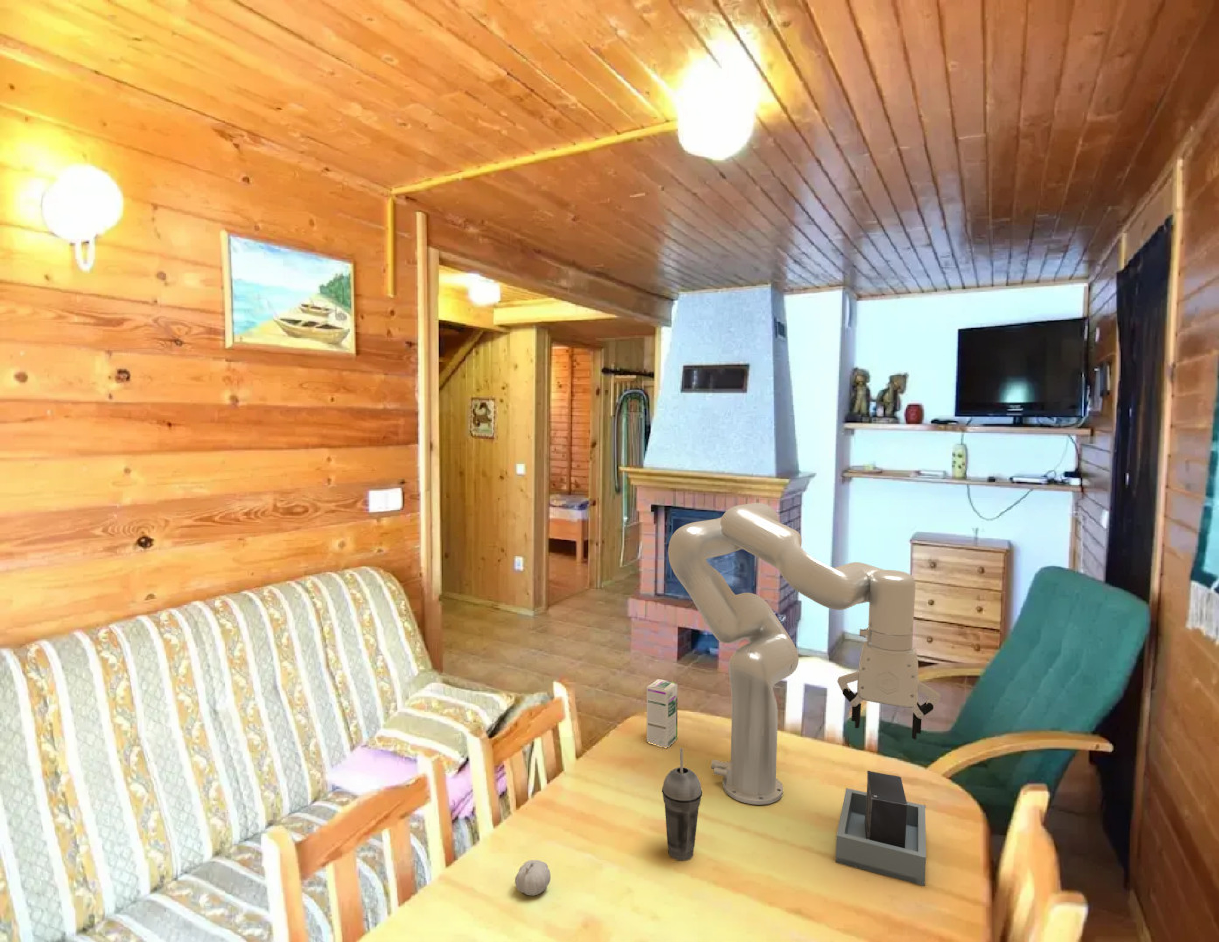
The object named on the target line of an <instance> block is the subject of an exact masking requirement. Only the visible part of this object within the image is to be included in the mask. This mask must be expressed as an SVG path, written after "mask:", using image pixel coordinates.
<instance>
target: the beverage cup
mask: <svg viewBox="0 0 1219 942" xmlns="http://www.w3.org/2000/svg"><path fill="white" fill-rule="evenodd" d="M679 765H680V766H679V767H675V768H673V769H672V770H670V771H669V773H667V775H666V776H665V778H664V780H663V784H662V788H661V792H662V797H663V799H662V800H663V803H664V812H665V828H666V829H665V830H666V842H667V849H668V855H669V856H670V858H671V859H674V860H675V861H676V860H677V861H682V862H683V861H687V860H691V859H692V858H693V856H694V849H695V846H696V844H695V843H696V842H695V841H696V834H697V825H698V817H699V807H700V805H701V802H702V796H703V790H702V784H701V781H700V779H699V777H698V775H697V774H696V773H695V772H694V771H693V770H692V769H690V768H688V767H684V748H681V747H680V748H679Z"/></svg>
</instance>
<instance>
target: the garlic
mask: <svg viewBox="0 0 1219 942" xmlns="http://www.w3.org/2000/svg"><path fill="white" fill-rule="evenodd" d="M550 882H551V871H550V869H549V867H548V864H547V863H546V862H545V861H542V860H539V859H529V860H527V861H525V862H524V863H523V865H521V866H520V867H519V869H518V872H517V873H516V875H515V879H514V883H515V884H514V885H515V887H516V889H517V890H518V891H519V892H520V893H522V894H525V895H527V896H537V895H540V894H541V893H542V892H544V891H546V890H547V888H548V886H549V885H550Z"/></svg>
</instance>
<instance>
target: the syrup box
mask: <svg viewBox="0 0 1219 942" xmlns="http://www.w3.org/2000/svg"><path fill="white" fill-rule="evenodd" d="M675 740H676V741H677V740H678V683H677V682H675V681H671V680H667V679H666V680H665V679H661V678H657V679H656V680H655V681H654V682H653V681H652V683H650V684H648V685H647V686H646V743H647V742H650V743H653V744H656V745H659V746H662V747H668V748H670V745H671V744H672V745H673V744H674V743H675V742H676V741H675ZM674 741H675V742H674ZM673 742H674V743H673ZM672 745H671V746H672ZM662 747H661V748H662Z"/></svg>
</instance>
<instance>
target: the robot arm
mask: <svg viewBox="0 0 1219 942" xmlns="http://www.w3.org/2000/svg"><path fill="white" fill-rule="evenodd" d="M740 550H744V551H746V552H747V553H749V554H752V555H753V556H754V557H756V558H759V560H762V561H764V562H765V563H767V564H768V565H771V566H773V567H774V568H775V569H777V571H778V572H779V574H780V576H781V577H782V578H783V579H784V580H785V581H786V582H787V584H788V585H789V586H790V587H791V588H793V590H795V591H796V592H798V593H799V594H801V595H803V596H804V597H806V598H808V599H809V600H811V601H813V602H815V603H817V604H818V605H820V606H822V607H824V608H827V609H831V610H834V611H835V610H836V611H843V610H847V609H849V608H852V607H854V606H856V605H860V604H865V603H869V604H868V605H869V606H868V624H867V625H868V627H866V628H864V629H862V628H859V633H858V634H859V637H862V638H864V639H865V640H867V641H864V643H863V644H862V646H861V651H860V657H859V663H858V671H853V672H851V673H847V674H845V675H840V676H839V677H838V679H837V680H836V681H837V684H838V686H839V688H840V690H841V692H842V695H843V696H844V698H845V699H846V700H847V701H848V702H849V703H850V706H851V721H852V722H854V728H855V729H859V728H860V725H861V716H862V713H861V712H862V703H861V702H863V701H866V702H872V703H876V704H881V705H888V706H894V707H900V708H906V709H910V710H911V711H912V723H911V724H912V727H911V738H912V739H913V740H917V734H922V721H923V720H922V719H923V718H924V716H926V715H928V714H929V713H931V712H932V711H933V710H934V708H935V706H937V704H938V702H939V701H940V700H941V694H940V693H939V692H938V691H936V690H935V689H933V688H931V687H930V686H928V685H926V684H925V683H923V682H922V681H920V680H919V662H918V661H919V658H918V653H917V650H916V649H915V647H913V639H914V638H913V637H914V623H915V622H914V619H915V602H916V601H915V600H916V580H915V577H914V576H913V575H912V574H910V573H908V572H904V571H900V570H894V569H893V570H891V569H884V568H883V569H882V568H879V567H876V566H872V565H870V564H867V563H863V562H856V561H855V562H849V563H846V564H842V565H839V566H835V567H832V566H830V565H828V564H826V563H824V562H822V561H820V560H818V559H816V558H814V557H813V556H811V555H810V554H808V553H807V552H806V551H805V550H804V549H803V548H802V536H801V534H800V532H799V531H798V530H796V529H794V528H792V527H789V526H788V525H785V524H783V523H781V522H780V519H779V516H778V514H777V512H776V511H775V509H774V508H773V507H771V506H770V505H769V504H766V503H764V502H763V503H762V502H752V503H745V504H738V505H734V506H732V507H730V508H728V509H727V510H726V511H725V512H724V514H723V515H722V516H721V517H719V518H713V519H706V520H700V521H694V522H690V523H686V524H684V525H682V526H680V527H679V528H677V529H676V530H675V531H674V532H673V534H672V535H671V537H670V539H669V543H668V551H667V552H668V561H669V564H670V568H671V570H672V572H673V574H674V575H675V577H676V578H677V580H678V581H679V582H680V584H681V585H682V587H683V589H685V591H686V592H687V594H688V596H689V597H690V598H691V600H692V602H693V603H694V605H695V607H696V609H697V610H698V612H699V614H700V615H701V617H702V619H703V620H704V622H705V623H706V625H707V626H708V628H709V630H710V632H711V633H712V634H713V637H714V638H715V639H716V640H717V641H719V643H723V644H727V645H729V644H734V643H738V642H741V641H743V640H745V639H746V640H747V641H748V643H747V644H744V645H742V646H740V647H739V648H737V649H736V650H735V651H734V652H733V654H732V655H731V657H730V659H729V662H728V677H729V683H730V691H731V692H730V693H731V731H730V734H731V735H730V736H731V737H730V738H731V739H730V761H726V762H723V761H721V760H717V759H711V764H710V765H711V767H710V768H711V770H713V775H717V776H722V777H723V779H722V788H723V790H724V792H725V793H726V794H727V795H728V796H729V797H731V799H734V800H736V801H738V802H740V803H743V804H748V805H755V806H756V805H757V806H762V805H770V804H773V803H776V802H778V801H779V800H780V799H781V798H782V797H783V794H784V785H783V783H782V782H781V781H780V780H779V779H778V778H777V754H778V750H777V749H778V719H779V718H778V716H779V714H778V713H779V711H778V710H779V709H778V703H777V699H776V696H775V693H774V686H775V685H776V684H778V683H779V682H780V681H782V680H785V679H786V678H788V677H790V676H791V675H793V674H794V672H795V671H796V670H797V668H798V665H799V660H800V659H799V654H798V649H797V648H796V645H795V643H794V641H793V640H792V638H791V637H790V635H789V634H788V632H787V630H786V629H785V627H784V625H782V623H781V620H779V619H778V617H777V615H776V614H775V612H774V611H773V609H772V608H771V606H770V605H769V604H768V603H767V601H766V600H764V598H762V597H761V596H759V595H758V594H755V593H752V592H742V593H738V594H735V593H734V592H733V590H732V589H731V587H730V586H729V584H728V583H727V581H726V579H725V578H724V576H723V575H722V574H721V573H720V572H719V571H718V570H717V569H715V568H714V567H713V566H712V565H711V564H710V563H708V561H707V559H711V558H716V557H720V556H725V555H729V554H732V553H734V552H737V551H740ZM856 681H857V685H856V687H857V690H856V692H853V691H852V690H851V689H850V688H849V685H848V684H849V683H854V682H856ZM919 692H920V693H922V694H924V695H925V696H927V697H928V698H929V699H928V700H927V701H925V702H924V703H922V704H920V702H919V701H918V700H919Z"/></svg>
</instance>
